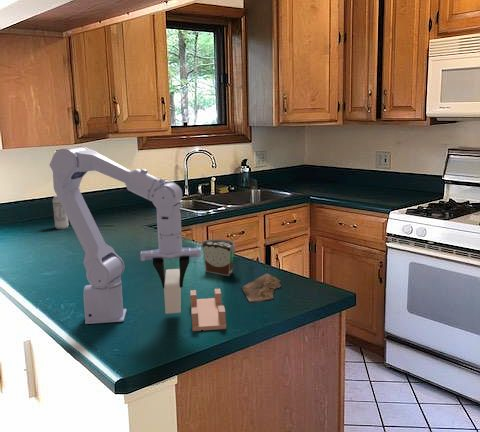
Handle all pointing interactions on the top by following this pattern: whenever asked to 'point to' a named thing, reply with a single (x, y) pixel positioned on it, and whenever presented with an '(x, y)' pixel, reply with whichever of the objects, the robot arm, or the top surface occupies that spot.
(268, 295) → the wooden fragment
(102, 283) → the robot arm
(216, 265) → the food container
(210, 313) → the rack
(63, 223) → the energy drink can
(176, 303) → the strip
